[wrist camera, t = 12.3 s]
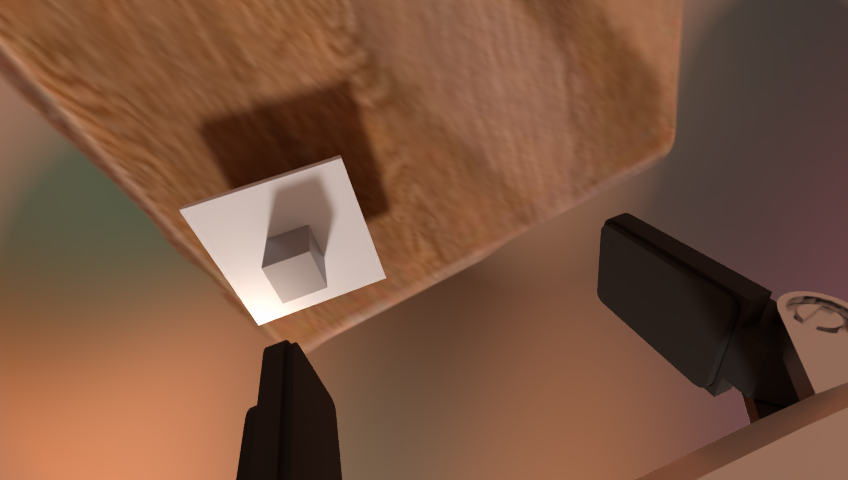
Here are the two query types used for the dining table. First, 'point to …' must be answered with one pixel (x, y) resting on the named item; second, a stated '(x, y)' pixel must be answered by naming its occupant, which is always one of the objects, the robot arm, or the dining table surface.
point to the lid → (288, 239)
